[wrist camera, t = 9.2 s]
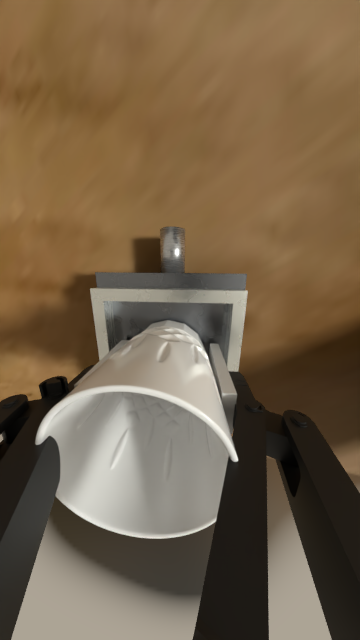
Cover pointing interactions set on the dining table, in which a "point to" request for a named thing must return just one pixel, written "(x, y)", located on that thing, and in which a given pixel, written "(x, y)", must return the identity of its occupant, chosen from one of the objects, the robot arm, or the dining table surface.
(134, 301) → the grey open box
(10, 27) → the dining table surface
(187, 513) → the white cup
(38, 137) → the dining table surface
